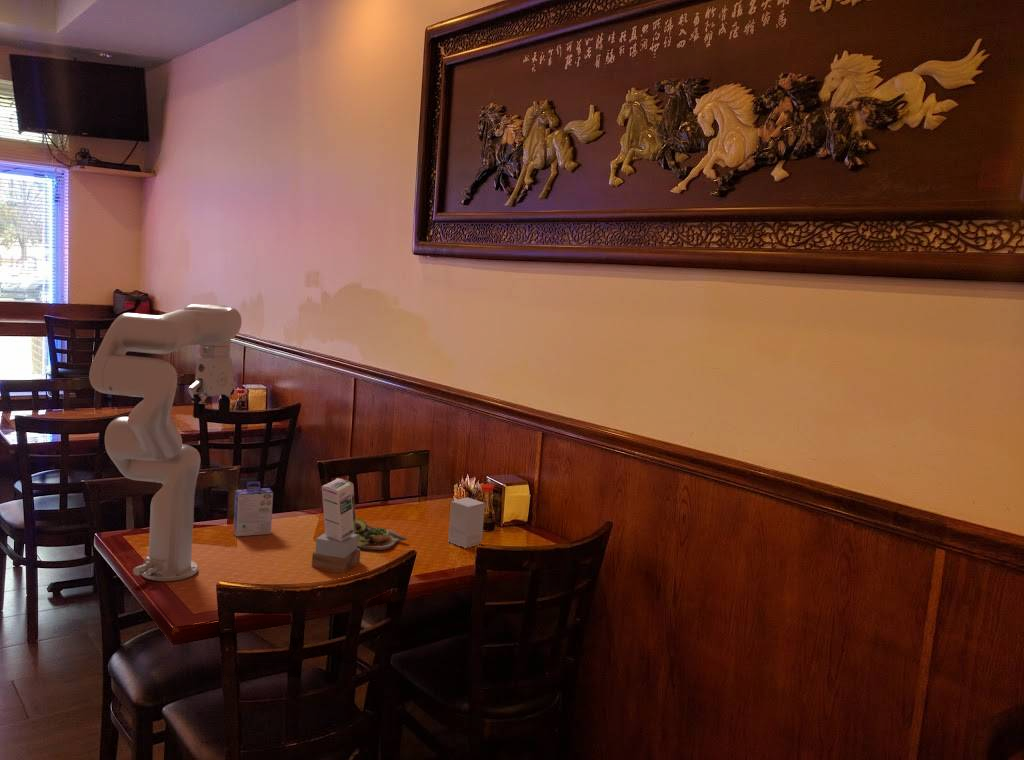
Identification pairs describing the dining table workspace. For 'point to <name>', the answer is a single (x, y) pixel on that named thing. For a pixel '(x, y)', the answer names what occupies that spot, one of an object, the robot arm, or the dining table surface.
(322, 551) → the grey block
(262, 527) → the ink cartridge box
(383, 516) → the dining table surface
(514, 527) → the dining table surface
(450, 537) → the supplement box
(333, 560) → the walnut block
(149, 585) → the dining table surface
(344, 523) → the syrup box
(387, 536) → the salad plate
